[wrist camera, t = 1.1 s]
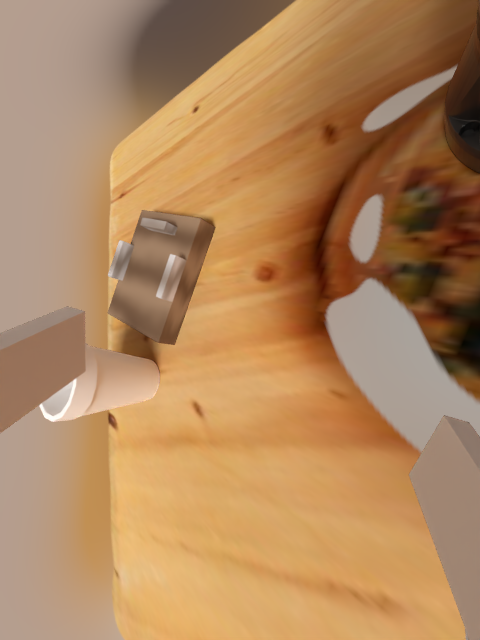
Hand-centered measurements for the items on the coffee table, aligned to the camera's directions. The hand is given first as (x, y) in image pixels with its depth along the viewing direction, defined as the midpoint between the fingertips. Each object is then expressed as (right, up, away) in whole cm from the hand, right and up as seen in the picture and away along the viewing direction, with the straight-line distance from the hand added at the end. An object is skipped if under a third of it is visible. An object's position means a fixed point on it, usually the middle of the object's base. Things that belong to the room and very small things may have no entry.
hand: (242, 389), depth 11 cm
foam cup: (-15, -7, +35) cm, 38 cm away
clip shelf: (-12, +10, +36) cm, 39 cm away
